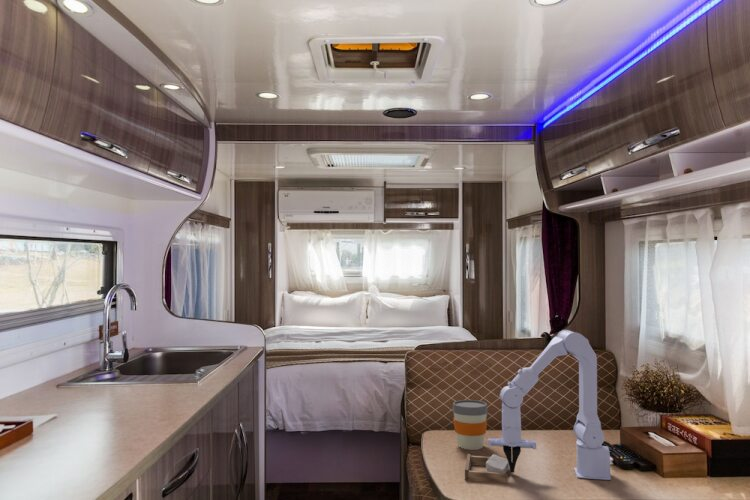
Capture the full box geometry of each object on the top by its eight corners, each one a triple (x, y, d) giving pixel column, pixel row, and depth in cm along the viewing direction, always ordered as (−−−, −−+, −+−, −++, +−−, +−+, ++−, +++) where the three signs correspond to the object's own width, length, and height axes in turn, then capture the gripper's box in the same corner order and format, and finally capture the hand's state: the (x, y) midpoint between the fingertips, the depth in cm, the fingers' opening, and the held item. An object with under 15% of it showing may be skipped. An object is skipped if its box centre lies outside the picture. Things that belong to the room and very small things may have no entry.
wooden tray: (507, 465, 177) (506, 456, 177) (507, 483, 163) (507, 472, 163) (467, 463, 180) (467, 453, 180) (464, 479, 165) (464, 469, 165)
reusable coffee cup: (494, 449, 194) (493, 406, 194) (460, 452, 191) (460, 408, 192) (479, 439, 206) (478, 398, 207) (447, 442, 203) (447, 400, 204)
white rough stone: (499, 488, 167) (502, 473, 165) (480, 479, 170) (482, 465, 168) (509, 469, 175) (512, 455, 173) (490, 461, 178) (493, 447, 176)
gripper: (487, 428, 168) (487, 473, 167) (536, 431, 165) (537, 477, 164) (487, 422, 175) (488, 466, 174) (535, 424, 172) (536, 469, 171)
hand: (512, 471), depth 170 cm, fingers closed
